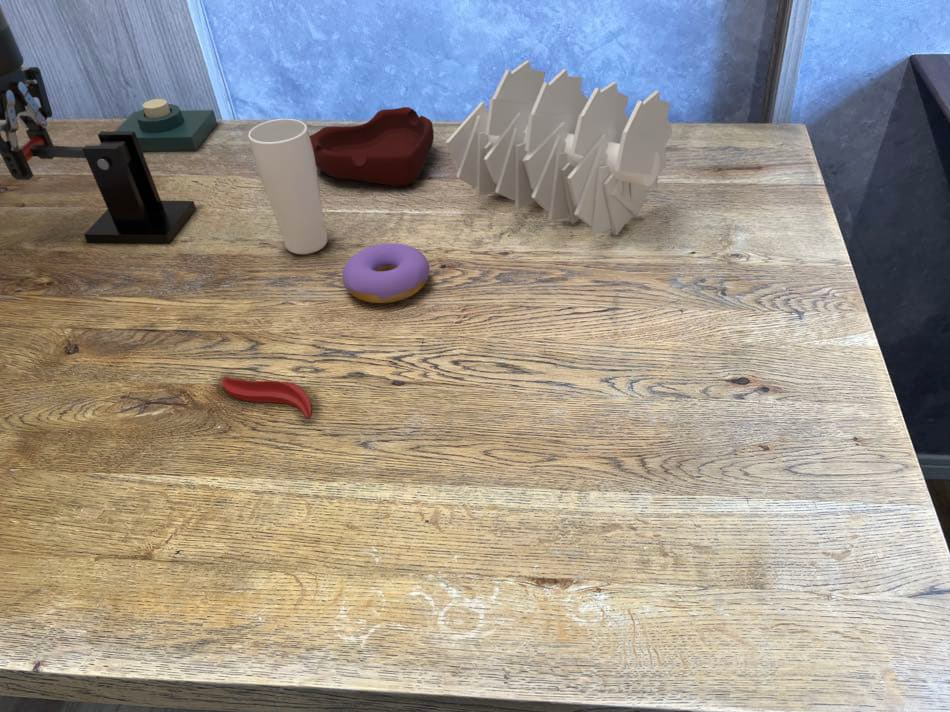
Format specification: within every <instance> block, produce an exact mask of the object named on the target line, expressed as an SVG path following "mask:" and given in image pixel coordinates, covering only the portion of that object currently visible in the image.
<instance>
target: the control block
mask: <svg viewBox="0 0 950 712" xmlns="http://www.w3.org/2000/svg"><path fill="white" fill-rule="evenodd" d="M168 106H169V109H170V112H171V113H170V114H168V115H166V116H163V117H159V118H147V117H146V114H145V112H144V109H143V108H142V109H141V110H139V111H138V110H137V111H133V112H132V113H131V114H130V115H129V116H128V117H127V118H126V119H125V120H124V121H123V122H122V123H121V124H120V125H119V127H117V129H115V131H135V134H136V136H137V139H138V142H139V144H140V147H141V149H142V152H190V151H192V152H194V151H197V150H198V149H199V148H200V146H201V145H202V144H203V142H204V141H205V140H206V138H207V137H208V136H209V135H210V133H211V132H212V131H213V130H214V128H215V127H216V126H217V125H218V119H217V117H216V114H215V111H214V110H213V109H206V110H205V109H202V110H201V109H200V110H199V109H197V110H196V109H195V110H181V108H180V106H179V105H176V104H172V103H168Z"/></svg>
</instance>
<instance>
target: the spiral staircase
mask: <svg viewBox="0 0 950 712" xmlns="http://www.w3.org/2000/svg"><path fill="white" fill-rule="evenodd" d="M545 78H546V71H544V70H540V69H536V68H535V69H534V68H531V62H530V60H525V61H524V62H523V63H521V64H520V65H518V66H517V67H515V68H514V69H513V70H512V71H511V70H510V69H505V71H504V73H503V75H502V78H501V79H500V81H499V82H498V85H497V87H496V89H495V92H494V93H493V95H492V97H491V98H489V102H488V103H489V104H488V109H487V106H486V103H485V101H480V103H478V105H476V107H475V108H474V109H473V110H472V111H471V113H470V114H469V115H468V116H467V117H466V118H465V119H464V120H463V122H462V123H461V124H460V125H459V126H458V127H457V129H456V130H455V131H454V132H453V133H452V134H451V135H450V136H449V137H448V139H446V141H445V143H444V144H445V145H446V147H447V150H448V153H449V155H450V158H451V161H452V162H453V165H454V168H455V169H458V170H457V173H456V176H455V177H456V178H457V179H459V180H461V181H462V182H464V183H466V184H467V185H469V186H470V187H472V188H475V196H476V197H479V198H480V197H482V196H486V195H489V194H492V193H497V194H499V195H500V196H501V197H505V198H507V199H510V200H512V201H514V209H516V210H520V209H522V208H524V207H526V206H529V205H531V204H533V203H537V204H538V206H540V207H541V209H543V210H544V211H545V212H548V218H547V220H548V221H549V222H553V221H558V220H564V219H568V218H569V220H570V224H573V225H575V224H576V222H577V221H578V220H581V222H583V223H585V224H586V225H587V226H589V227H591V230H590V231H591V232H590V235H591V236H593V237H595V236H597V235H600V234H602V233H605V232H607V231H610V230H612V233H613V235H615V236H617V235H618V234H619V233H620V232H621V231H622V229H623V228H624V226H626V224H627V222H628V221H629V220H630V218H631V217H632V216H634V217H635V218H639V216H640V214H641V211H642V208H643V205H644V203H645V200H646V197H647V195H648V192H649V191H650V190H653V189H655V188H657V186H658V181H659V175H660V174H661V173H662V172H663V171H664V170H665V169H667V144H668V142H669V140H670V138H671V137H672V134H673V132H674V131H673V128H672V126H671V123H670V121H669V118H668V116H669V112H670V107H671V102H669V101H665V100H663V99H660V91H659V90H654V91H653V92H652V93H651V94H650V95H649V96H647V98H644V100H637V102H636V104H635V107H634V108H633V110H632V113H631V114H630V117H628V115H627V112H626V109H627V106H628V102H629V96H628V95H626V94H624V93H621V92H620V91H618V82H617V81H612V82H611V83H609V84H608V85H606V86H604V87H603V88H601V89H600V88H599V87H594V90H593V91H592V93H591V95H590V96H589V98H587V97H586V95H585V94H584V93H583V91H582V85H583V84H582V83H583V76H576V75H575V76H573V75H568V69H567V68H566V69H565V68H563V69H562V70H561V71H559V72H558V73H557V74H556V75H555V76H554V77H553V78H552V79H551V80H550V81H549V82H546V81H545Z"/></svg>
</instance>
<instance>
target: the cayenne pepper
mask: <svg viewBox="0 0 950 712" xmlns="http://www.w3.org/2000/svg"><path fill="white" fill-rule="evenodd" d="M221 385H222V387H223V390H224V392H225V393H226V394H228V395H229V396H231V397H232V398H234V399H237V400H240V401H245V402H254V403H277V404H278V403H280V404H286V405H291V406H293V407H295V408H297V409H299V410H300V411H301V413H302V414H303V415H304V416H305V418H307V419H310V417H311V415H312V404H311V401H310V398H309V396H308V394H307V392H306V391H305V390H304V389H303V388H302V387H301V386H300V385H298V384H295V383H293V382H287V381H277V380H259V381H253V380H246V379H238V378H232V377H228V376H223V378H222V380H221Z"/></svg>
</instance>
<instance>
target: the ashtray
mask: <svg viewBox="0 0 950 712" xmlns="http://www.w3.org/2000/svg"><path fill="white" fill-rule="evenodd" d="M434 133H435V132H434V125H433V122H432V121H431V119H430V118H427V117H426V116H424V115H420V116H419V115H418V113H417V111H416V110H415V109H413V108H411V107H409V106H403V107H398V108H397V107H396V108H390V109H389V108H388V109H387V108H386V109H380V110H378V111H377V112H376V113H375V115H374V116H373V117H372V118H371V119H370V120H368V121H367V122H364V123H363V124H359V125H352V126H325V127H322V128H321V129H319V130H318V131H317V132H315V133H313V134H311V135H310V134H309V135H310V139H311V143H312V146H313V151H314V155H315V161H316V167H317V169H319V170H320V171H322V172H323V173H324V174H326V175H328V176H331V177H334V178H338V179H346V180H356V181H364V182H370V183H375V184H380V185H381V184H382V185H387V186H393V187H396V188H406V187H409V186H411V185H413V184H414V183H415V182H416V181H417V180H418V179H419V177H420V175H421V173H422V171H423V166H424V164H425V162H426V160H427V158H428V155H429V152H430V150H431V149H432V146H433V143H434V138H435V137H434V136H435V135H434Z"/></svg>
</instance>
